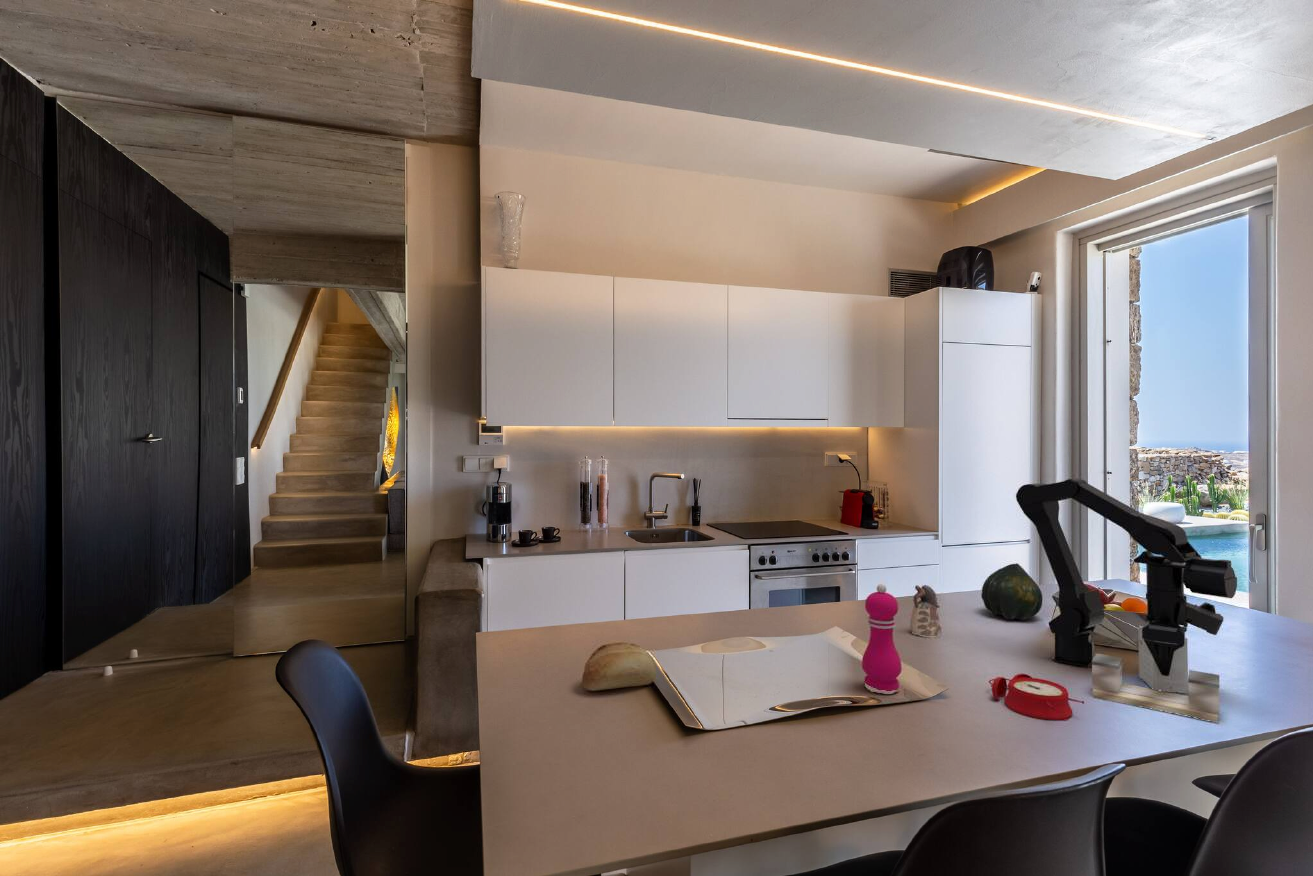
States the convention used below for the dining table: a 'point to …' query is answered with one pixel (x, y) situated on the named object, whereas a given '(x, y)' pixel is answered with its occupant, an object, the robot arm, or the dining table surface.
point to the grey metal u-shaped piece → (1156, 691)
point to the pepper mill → (881, 642)
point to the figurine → (925, 612)
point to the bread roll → (618, 667)
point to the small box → (1152, 675)
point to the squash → (1012, 593)
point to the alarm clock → (1034, 697)
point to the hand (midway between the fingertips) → (1166, 669)
